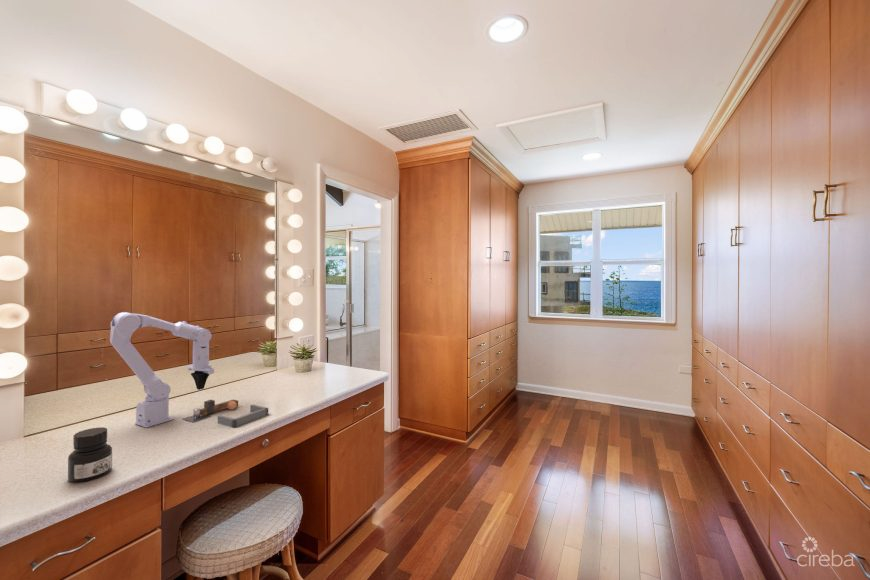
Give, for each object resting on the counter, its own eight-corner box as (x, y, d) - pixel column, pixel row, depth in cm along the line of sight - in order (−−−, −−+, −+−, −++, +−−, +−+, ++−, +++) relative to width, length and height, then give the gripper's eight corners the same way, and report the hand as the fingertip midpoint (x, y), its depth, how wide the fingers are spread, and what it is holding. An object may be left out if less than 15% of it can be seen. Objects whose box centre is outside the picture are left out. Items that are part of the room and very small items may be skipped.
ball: (230, 411, 150) (230, 403, 150) (225, 410, 152) (225, 401, 152) (238, 408, 154) (238, 400, 153) (233, 407, 155) (233, 399, 155)
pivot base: (193, 422, 138) (193, 413, 138) (182, 419, 141) (182, 410, 141) (211, 416, 144) (211, 408, 144) (200, 413, 147) (200, 405, 147)
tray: (233, 427, 133) (233, 420, 133) (217, 423, 137) (217, 416, 137) (268, 414, 147) (268, 408, 147) (252, 411, 151) (253, 404, 151)
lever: (205, 416, 143) (205, 404, 143) (199, 414, 145) (199, 402, 144) (238, 405, 156) (238, 394, 156) (232, 404, 157) (232, 393, 157)
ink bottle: (76, 487, 94) (77, 441, 94) (58, 480, 97) (58, 436, 97) (120, 469, 103) (121, 428, 103) (102, 463, 106) (102, 423, 106)
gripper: (221, 356, 150) (220, 388, 150) (199, 353, 157) (199, 384, 157) (204, 359, 144) (204, 393, 144) (182, 356, 150) (182, 388, 150)
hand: (200, 389), depth 150 cm, fingers closed
